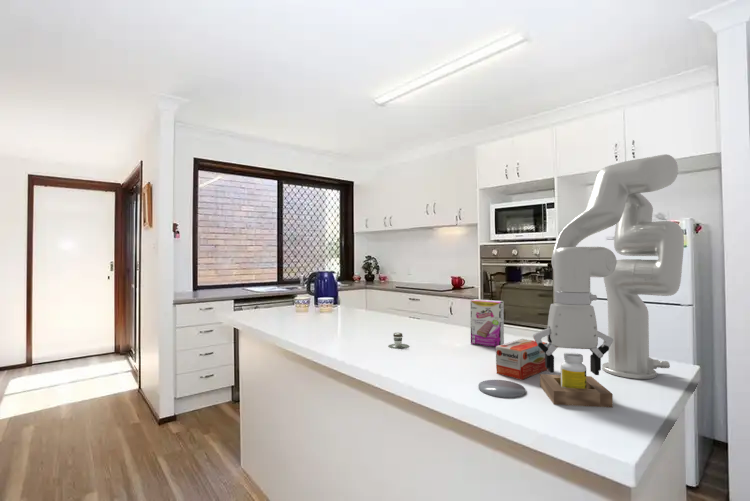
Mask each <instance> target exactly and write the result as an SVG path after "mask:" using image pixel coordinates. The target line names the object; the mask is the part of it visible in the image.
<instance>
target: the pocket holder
mask: <svg viewBox="0 0 750 501" xmlns="http://www.w3.org/2000/svg"><path fill="white" fill-rule="evenodd" d="M539 387H540V388H541V390H543V392H544V394H546V396H547V397H548V399H549V400H550V401H551V402H552V404H553V405H558V406H559V405H560V406H573V407H574V406H575V407H576V406H577V407H591V408H592V407H593V408H594V407H596V408H610V409H611V408H613V407H614V406H613V404H614V403H613V402H614V401H613V399H614V396H613V393H612V392H611V391H610V390H608V389H607V388H606V387H605V386H604V385H603V384H601V383H600V382H599V381H597V380H596V379H595V378H594V377H592V375H586V389H580V388H562V387H561V374H549V373H547V374H546V373H545V374H543V373H540V374H539Z"/></svg>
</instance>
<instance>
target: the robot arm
mask: <svg viewBox="0 0 750 501" xmlns="http://www.w3.org/2000/svg"><path fill="white" fill-rule="evenodd" d="M678 174H679V165H678V163H677V160H676V158H675V157H673V156H672V155H670V154H660V155H652V156H648V157H641V158H637V159H632V160H625V161H622V162H618V163H615V164H610V165H607V166H605V167H603V168H601V169H600V170H599V171H598V173H597V174H596V177H595V179H594V182H593V186H592V188H591V192H590V194H589V198H588V200H587V204H586V206H585V209H584V210H583V211H582V212H581V213H580V214H579V215H577V216H576V217H575V218H574V219H572V220H571V221H570V222H569V223H567V225H566V226H564V228H563V229H562V230H561V231H560V233H559V234H558V237H557V239H556V242H555V244H554V248H553V250H552V255H551V266H552V270H553V272H554V275H553V276H554V278H553V280H554V281H553V282H554V290H553V291H554V303H550V306H549V311H548V317H547V318H548V320H547V328H545V329H543V330H540V331H538V332H536V333H534V334H533V335H532V337H533V339H534V340H533V341H535V342H536V343H537V345H538V347H539V348H541V349H542V350H543V351H544V352H545V367H546V368H547V371H548V372H549V373H550V374H553V373H555V356H554V355H553V353H554V352H555V351H557V349H558V348H559V349H571V350H573V349H577V350H589V351H590V352H591V353H592V354H590V363H589V364H590V372H591V373H592V374H594V375H595V376H600V371H601V369H602V370H603V371H604V372H606V373H607V374H610V375H614V376H617V377H621V378H627V379H635V380H650V379H654V378H656V377H657V371H656V370H657V368H660V369H670V366H671V365H670V362H669V361H668V360H659V359H654V358H652V357H650V335H649V334H650V327H649V321H650V320H649V316H650V315H649V309H648V307H647V305H646V304H645V302H644V301H643V300H642V299H641V297H640V295H641V296H643V295H645V296H655V297H656V296H657V297H659V296H661V297H669V296H674V295H676V294H677V293H678V291H679V289H680V286H681V283H682V282H681V281H682V272H683V260H684V259H683V258H684V251H685V250H684V248H685V236H684V231H683V228H682V227H681V225H679V224H678V223H677V222H675V221H671V220H660V221H658V220H657V221H656V220H655V221H653V211H654V208H653V204H652V203H651V202H650V201H649V200H648V198H647V197H645V196H644V195H643V194H644V193H652V192H656V191H660V190H662V189H664V188H667V187H669V186H672V184H674V182H675V181H676V179H677V177H678ZM642 193H643V194H642ZM614 226H615V230H614V236H613V247H614V250H615V252H616V253H617V254H619V255H622V256H628V257H658V258H657V259H642V258H641V259H629V258H628V259H626V258H625V259H624V258H623V259H622V258H621V259H617V257H616V255H615V253H614V252H613V251H612V250H611V249H610V248H607V247H604V246H578V245H579V243H581V242H582V241H583V240H584V239H586V238H588V237H590V236H592V235H594V234H597V233H600V232H602V231H604V230H607V229H608V228H611V227H614ZM591 278H603V282H604V288H605V291H606V300H607V301H606V302H607V334H605V333H603V332H602V331H601V332H600V331H599V330H598V323H597V317H596V316H597V315H596V312H595V307H594V306H593V305H592V302H594V301H597V300H598V296H597V295H596V294H593V293H592V292H591ZM545 337H546V339H547V340H546V341H547V343H548V344H547V345H546V346H545V345H544V344H543V343H542V342H543V341H542V339H543V338H545ZM599 339H602V340H603V342H602V344H600V346H599V347H598V345H599ZM607 352H608V353H607ZM606 353H607V354H608V357H607V358H608V362H604V363H602V362H601V361H602V358H603V357H604V355H605V354H606Z"/></svg>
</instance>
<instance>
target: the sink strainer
mask: <svg viewBox="0 0 750 501" xmlns="http://www.w3.org/2000/svg"><path fill="white" fill-rule="evenodd" d="M403 337H404V336H403V333H402V332H394V333H393V342H394V343H390V344H388V348H389V349H395V350H401V349H402V350H404V349H408V348H409V347H410V345H409V344H405V343H403Z"/></svg>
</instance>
